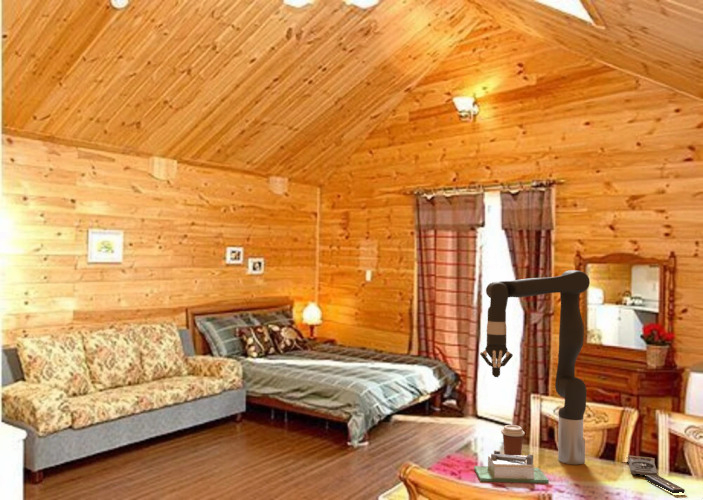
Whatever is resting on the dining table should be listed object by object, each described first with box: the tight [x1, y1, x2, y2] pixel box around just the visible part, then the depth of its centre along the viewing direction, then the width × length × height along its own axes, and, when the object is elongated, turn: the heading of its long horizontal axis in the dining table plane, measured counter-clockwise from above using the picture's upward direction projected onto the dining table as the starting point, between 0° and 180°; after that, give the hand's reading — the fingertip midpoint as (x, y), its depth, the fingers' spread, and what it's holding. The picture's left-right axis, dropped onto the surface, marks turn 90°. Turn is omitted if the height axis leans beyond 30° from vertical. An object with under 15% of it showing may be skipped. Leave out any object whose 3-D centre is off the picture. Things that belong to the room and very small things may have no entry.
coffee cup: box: [500, 424, 526, 456], centre depth 240 cm, size 9×9×12 cm
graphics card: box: [627, 454, 658, 476], centre depth 227 cm, size 17×4×12 cm
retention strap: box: [496, 453, 526, 462], centre depth 219 cm, size 11×3×1 cm, turn 62°
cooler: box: [473, 450, 550, 484], centre depth 219 cm, size 24×13×8 cm, turn 88°
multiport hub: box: [645, 474, 686, 493], centre depth 210 cm, size 4×14×2 cm, turn 10°
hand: (496, 376), depth 236 cm, fingers closed
